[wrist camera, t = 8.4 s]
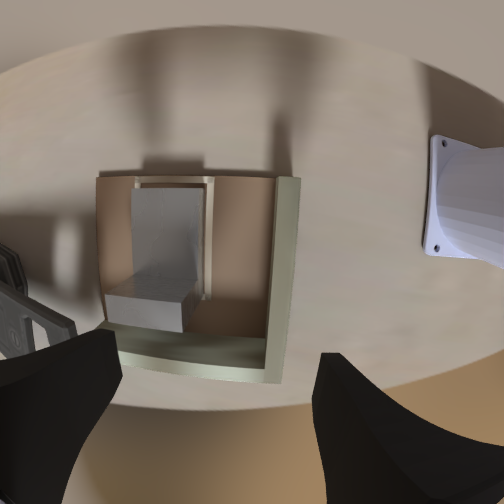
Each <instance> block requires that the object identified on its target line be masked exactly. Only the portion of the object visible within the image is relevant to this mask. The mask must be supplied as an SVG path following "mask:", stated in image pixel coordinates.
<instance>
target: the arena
mask: <svg viewBox="0 0 504 504" xmlns="http://www.w3.org/2000/svg"><path fill="white" fill-rule="evenodd" d="M132 188H205V208H204V296H203V298H202V299H201V301H200V303H199V305H198V306H197V308H196V310H195V312H194V313H193V315H192V317H191V319H190V320H189V322H188V324H187V326H186V327H185V329H184V331H183V333H181V332H173V331H165V330H157V329H149V328H142V327H136V326H129V325H123V324H117V323H111V322H108V316H107V309H106V301H105V294H106V293H107V292H109V291H110V290H112V289H113V288H114V287H116V286H117V285H119V284H120V283H122V282H123V281H125V280H126V279H127V278H129V277H130V276H132V275H133V261H132V233H131V189H132ZM300 188H301V178H299V177H285V176H278V177H277V178H261V177H240V176H207V175H148V176H116V177H96V231H97V251H98V265H99V276H100V286H101V295H102V303H103V310H104V317H105V320H104V321H103V322H102V323H101V324H100V325H99V326H97V327H96V328H95V329H99V328H103V329H108V330H113V331H115V337H116V343H117V349H118V354H119V360H120V364H122V365H127V366H132V367H137V368H142V369H147V370H153V371H159V372H165V373H171V374H177V375H184V376H191V377H199V378H207V379H217V380H227V381H238V382H252V383H269V384H281V381H282V374H283V366H284V358H285V350H286V342H287V334H288V325H289V316H290V307H291V298H292V288H293V277H294V267H295V255H296V244H297V231H298V218H299V203H300ZM95 329H94V330H95Z"/></svg>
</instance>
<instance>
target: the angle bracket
mask: <svg viewBox="0 0 504 504" xmlns="http://www.w3.org/2000/svg"><path fill="white" fill-rule="evenodd" d="M204 208H205V188H132V189H131V233H132V261H133V275H132V276H130V277H129V278H127V279H126V280H125V281H123V282H122V283H120V284H119V285H117V286H116V287H114V288H113V289H112V290H110V291H109V292H107V293H106V294H105V301H106V309H107V316H108V322H111V323H117V324H123V325H129V326H136V327H142V328H149V329H157V330H165V331H173V332H181V333H183V331H184V329H185V327H186V326H187V324H188V322H189V320H190V319H191V317H192V315H193V313H194V312H195V310H196V308H197V306H198V305H199V303H200V301H201V299H202V298H203V296H204Z"/></svg>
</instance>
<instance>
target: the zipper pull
mask: <svg viewBox="0 0 504 504" xmlns="http://www.w3.org/2000/svg"><path fill="white" fill-rule="evenodd" d="M32 320H34V321H35V322H36V323H38V324H39V325H41V326H42V327H43V328H45V330H46V333H47V337H48V341H49V344H50V346H53V345H55V344H58V343H61V342H63V341H66V340H68V339H71V338H73V337H76V336H78V334H77V330H76V326H75V322H74V321H73V320H71V319H69V318H67V317H65V316H63V315H61V314H59V313H57V312H56V311H54V310H52V309H50V308H48V307H46V306H44V305H42V304H41V303H39V302H37V301H35V300H33V299H31V298H29V297H28V286H27V281H26V278H25V275H24V272H23V269H22V266H21V263H20V260H19V256H18V255H17V254H16V253H15V252H13V251H12V250H10V249H9V248H7V247H6V246H4V245H3V244H1V243H0V352H1V353H2V354H3V355H4V356H5V357H6V358H7V359H9V358H14V357H18V356H22V355H26V354H29V353H32V352H35V351H36V350H35V344H34V337H33V329H32Z"/></svg>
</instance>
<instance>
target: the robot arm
mask: <svg viewBox="0 0 504 504" xmlns="http://www.w3.org/2000/svg"><path fill="white" fill-rule="evenodd" d="M442 141H443V142H444V144H445V146H444V147H443V145H442ZM435 245H437V249H436V250H435V251H434V247H435ZM423 251H424V253H425V254H427V255H432V256H445V257H459V258H472V259H481V260H484V261H486V262H488V263H491V264H493V265H495V266H497V267H500V268H502V269H504V147H496V148H486V149H481V148H478V147H476V146H473V145H470V144H467V143H464V142H461V141H458V140H454V139H451V138H448V137H445V136H441V135H433V136H432V137H431V140H430V181H429V196H428V208H427V218H426V227H425V235H424V242H423ZM122 377H123V375H122V370H121V365H120V360H119V354H118V349H117V343H116V337H115V331H113V330H108V329H103V328H99V329H95V330H92V331H89V332H86V333H84V334H81V335H78V336H76V337H73V338H71V339H68V340H66V341H63V342H61V343H58V344H55V345H53V346H50V347H47V348H44V349H41V350H38V351H35V352H32V353H29V354H26V355H22V356H18V357H14V358H9V359H5V360H0V504H61V503H62V500H63V496H64V493H65V489H66V486H67V483H68V480H69V477H70V474H71V472H72V469H73V466H74V464H75V461H76V459H77V457H78V455H79V452H80V450H81V448H82V446H83V444H84V442H85V440H86V439H87V437H88V435H89V434H90V432H91V431H92V429H93V428H94V426H95V425H96V423H97V421H98V420H99V418H100V417H101V415H102V414H103V412H104V411H105V409H106V407H107V406H108V405H109V403H110V401H111V400H112V398H113V397H114V395H115V392H116V390H117V388H118V386H119V384H120V381H121V379H122ZM312 410H313V423H314V428H315V432H316V437H317V442H318V446H319V451H320V456H321V460H322V465H323V470H324V476H325V482H326V495H327V504H497V503H498V502H499V501H500V500H501V499H502V498H503V497H504V446H499V445H493V444H488V443H483V442H479V441H475V440H472V439H469V438H466V437H463V436H460V435H457V434H455V433H452V432H449V431H447V430H444V429H443V428H440V427H438V426H436V425H434V424H432V423H430V422H428V421H426V420H424V419H422V418H420V417H419V416H417V415H415V414H414V413H412V412H410V411H409V410H407V409H406V408H404V407H403V406H401V405H400V404H398V403H397V402H396V401H394V400H393V399H392V398H390V397H389V396H388V395H386V394H385V393H384V392H382V391H381V390H380V389H379V388H378V387H376V386H375V385H374V384H373V383H372V382H371V381H370V380H368V379H367V378H366V377H365V376H364V375H363V374H362V373H361V372H360V371H359V370H357V369H356V368H355V367H354V366H353V365H352V364H351V363H350V362H349V361H348V360H347V359H346V358H345V357H344V356H342V355H341V354H340V353H321V358H320V363H319V368H318V372H317V377H316V382H315V386H314V390H313V395H312Z"/></svg>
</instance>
